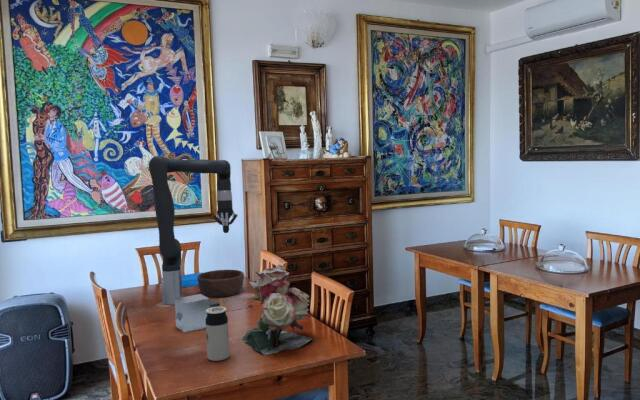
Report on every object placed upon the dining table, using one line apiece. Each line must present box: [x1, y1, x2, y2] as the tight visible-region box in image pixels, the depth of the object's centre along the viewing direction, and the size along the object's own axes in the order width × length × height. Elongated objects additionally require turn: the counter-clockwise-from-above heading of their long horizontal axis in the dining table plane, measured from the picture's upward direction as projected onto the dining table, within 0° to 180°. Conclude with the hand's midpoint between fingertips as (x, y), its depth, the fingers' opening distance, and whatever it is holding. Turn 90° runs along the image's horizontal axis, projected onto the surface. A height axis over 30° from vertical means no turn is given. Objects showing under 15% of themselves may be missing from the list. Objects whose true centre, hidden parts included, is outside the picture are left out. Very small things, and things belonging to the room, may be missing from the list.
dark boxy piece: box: [175, 299, 221, 319], centre depth 228 cm, size 18×6×8 cm, turn 124°
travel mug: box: [205, 306, 230, 362], centre depth 190 cm, size 8×8×18 cm
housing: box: [174, 293, 210, 334], centre depth 226 cm, size 12×10×12 cm
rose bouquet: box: [241, 264, 314, 356], centre depth 204 cm, size 26×29×30 cm
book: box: [161, 272, 204, 288], centre depth 307 cm, size 17×4×25 cm
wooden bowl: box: [197, 269, 245, 298], centre depth 283 cm, size 25×25×10 cm
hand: (226, 232), depth 266 cm, fingers closed
